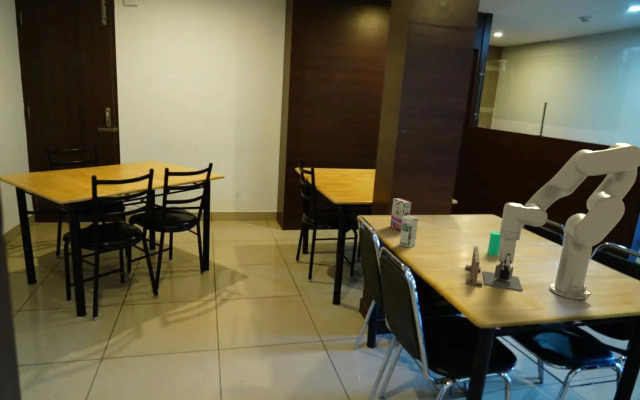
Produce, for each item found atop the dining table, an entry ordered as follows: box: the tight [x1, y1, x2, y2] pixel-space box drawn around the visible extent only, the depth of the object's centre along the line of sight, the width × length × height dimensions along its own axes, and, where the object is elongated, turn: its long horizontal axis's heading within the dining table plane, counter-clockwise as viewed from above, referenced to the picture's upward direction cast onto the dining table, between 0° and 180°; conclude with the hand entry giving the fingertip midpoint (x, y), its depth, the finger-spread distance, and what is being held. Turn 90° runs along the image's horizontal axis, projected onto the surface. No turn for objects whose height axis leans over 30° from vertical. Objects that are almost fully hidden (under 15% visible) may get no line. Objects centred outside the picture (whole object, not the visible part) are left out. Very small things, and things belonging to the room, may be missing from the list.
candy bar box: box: [390, 197, 412, 232], centre depth 236 cm, size 11×5×16 cm, turn 25°
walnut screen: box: [465, 245, 483, 287], centre depth 175 cm, size 20×6×10 cm, turn 162°
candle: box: [487, 230, 501, 257], centre depth 205 cm, size 6×6×12 cm
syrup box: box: [399, 215, 419, 248], centre depth 209 cm, size 6×6×14 cm
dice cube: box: [494, 262, 514, 281], centre depth 172 cm, size 5×5×5 cm
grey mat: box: [482, 270, 524, 292], centre depth 173 cm, size 14×14×1 cm
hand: (503, 275), depth 173 cm, fingers closed on dice cube, 6 cm apart
